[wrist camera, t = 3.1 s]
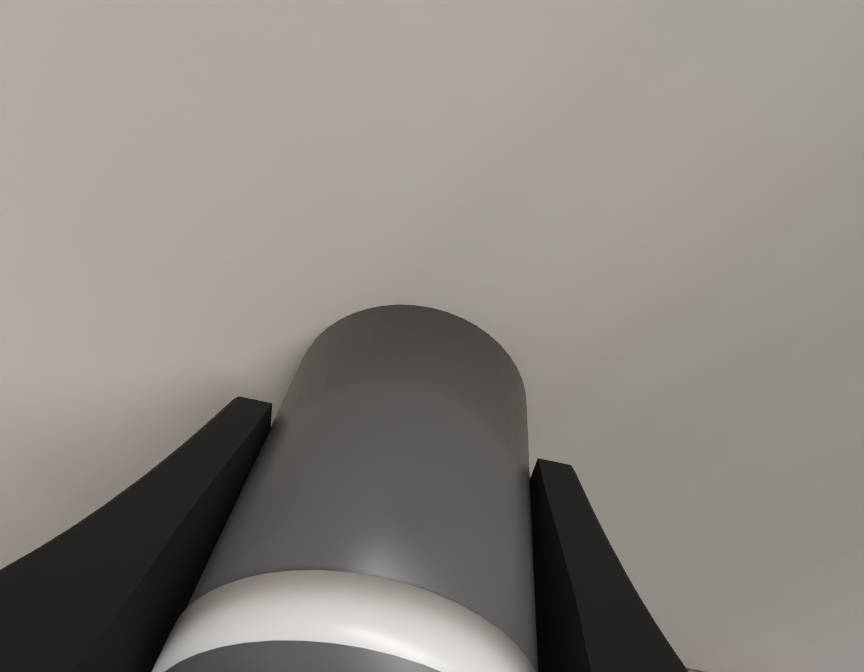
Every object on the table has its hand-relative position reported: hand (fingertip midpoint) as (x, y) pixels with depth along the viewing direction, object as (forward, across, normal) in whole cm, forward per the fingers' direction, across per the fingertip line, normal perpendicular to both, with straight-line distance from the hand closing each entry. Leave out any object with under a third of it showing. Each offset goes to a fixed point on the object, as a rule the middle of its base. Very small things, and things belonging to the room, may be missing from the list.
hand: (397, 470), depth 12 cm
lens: (+2, 0, 0) cm, 2 cm away
